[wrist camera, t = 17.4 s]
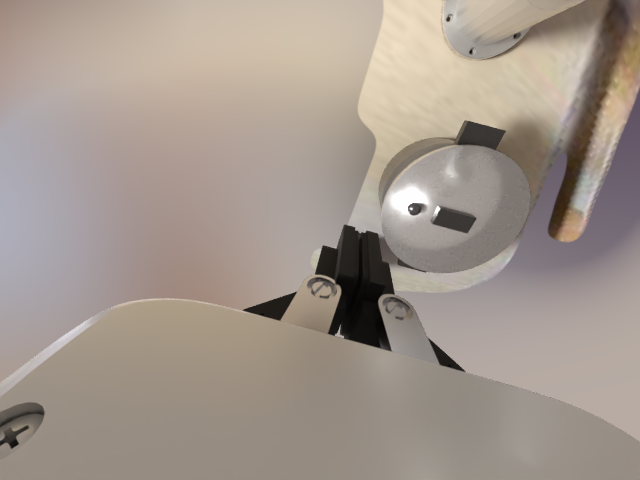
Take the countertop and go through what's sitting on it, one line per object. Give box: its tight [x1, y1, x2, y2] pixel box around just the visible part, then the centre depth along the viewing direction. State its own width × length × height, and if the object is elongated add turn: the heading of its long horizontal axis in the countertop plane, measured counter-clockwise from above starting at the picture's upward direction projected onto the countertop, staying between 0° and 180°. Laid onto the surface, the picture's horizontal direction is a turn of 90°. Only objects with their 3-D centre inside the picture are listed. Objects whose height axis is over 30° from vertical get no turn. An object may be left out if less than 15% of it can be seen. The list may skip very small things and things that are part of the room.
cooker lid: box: [381, 144, 531, 273], centre depth 34 cm, size 19×19×3 cm
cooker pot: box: [379, 121, 506, 272], centre depth 41 cm, size 24×18×12 cm
